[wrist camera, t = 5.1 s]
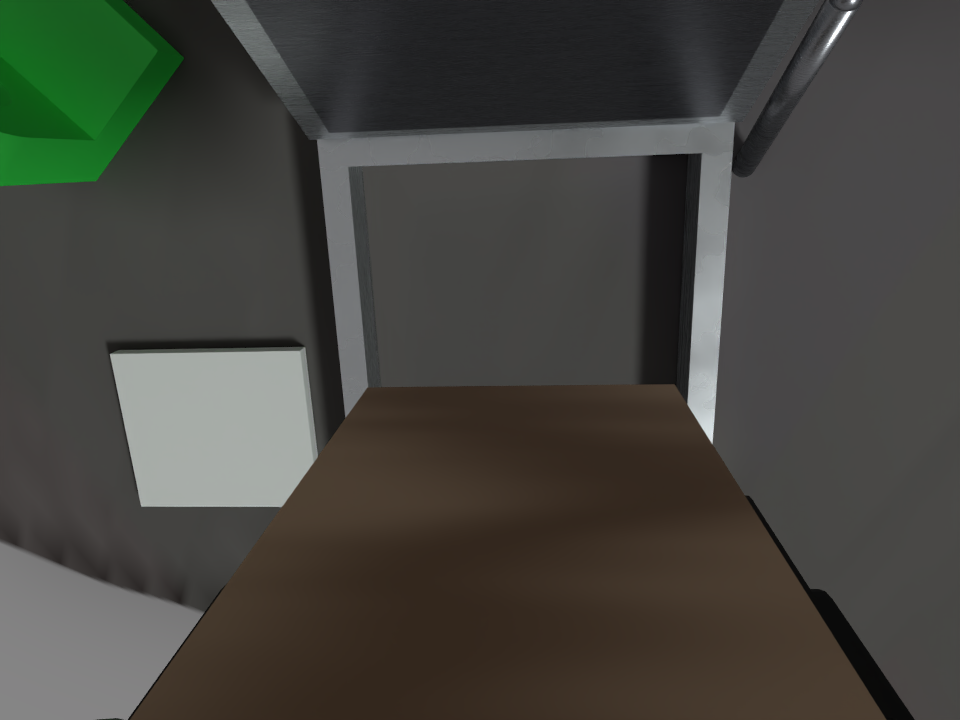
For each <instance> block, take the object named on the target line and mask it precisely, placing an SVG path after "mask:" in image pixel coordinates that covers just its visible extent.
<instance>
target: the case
mask: <svg viewBox="0 0 960 720" xmlns="http://www.w3.org/2000/svg"><path fill="white" fill-rule="evenodd" d="M211 1H212V3H213V4H214V6H215V7H216V8H217V10H218V11H219V13H220V14H221V15H222V17H223V18H224V20H225V21H226V23H227V24H228V25H229V27H230V28H231V30H232V31H233V32H234V34H235V35H236V37H237V38H238V40H239V41H240V42H241V44H242V45H243V47H244V48H245V49H246V51H247V52H248V54H249V55H250V56H251V58H252V59H253V61H254V62H255V64H256V65H257V66H258V68H259V69H260V71H261V72H262V73H263V75H264V76H265V78H266V79H267V80H268V82H269V83H270V85H271V86H272V88H273V89H274V90H275V92H276V93H277V95H278V96H279V97H280V99H281V100H282V102H283V103H284V105H285V106H286V107H287V109H288V110H289V112H290V113H291V114H292V116H293V117H294V119H295V120H296V121H297V123H298V124H299V126H300V127H301V129H302V130H303V131H304V133H305V134H306V136H307V137H308V138H309V140H317V144H318V154H319V164H320V174H321V183H322V193H323V203H324V213H325V223H326V232H327V242H328V252H329V262H330V271H331V281H332V291H333V301H334V310H335V320H336V330H337V340H338V350H339V359H340V369H341V379H342V389H343V398H344V408H345V418H346V417H347V415H348V414H349V413H350V411H351V410H352V408H353V407H354V406H355V404H356V403H357V401H358V400H359V399H360V397H361V396H362V394H363V393H364V392H365V390H366V389H367V387H381V385H380V374H379V362H378V350H377V338H376V326H375V315H374V303H373V291H372V279H371V267H370V256H369V244H368V232H367V220H366V208H365V197H364V185H363V173H362V166H379V165H405V164H431V163H457V162H483V161H509V160H535V159H561V158H587V157H613V156H639V155H665V154H688V164H687V184H686V203H685V223H684V242H683V262H682V281H681V301H680V320H679V340H678V359H677V379H676V387H677V389H678V391H679V392H680V394H681V395H682V397H683V399H684V400H685V402H686V403H687V405H688V406H689V408H690V410H691V411H692V413H693V414H694V416H695V418H696V419H697V421H698V422H699V424H700V425H701V427H702V429H703V430H704V432H705V433H706V435H707V437H708V438H709V440H710V441H711V443H712V442H713V428H714V414H715V399H716V385H717V371H718V356H719V342H720V328H721V313H722V299H723V285H724V270H725V256H726V242H727V227H728V213H729V199H730V184H731V170H732V169H733V172H734V173H735V175H737V176H739V177H747V176H749V175H751V174H752V173H753V172H754V171H755V169H756V167H757V166H758V164H759V163H760V161H761V160H762V158H763V156H764V155H765V153H766V152H767V150H768V149H769V147H770V146H771V144H772V142H773V141H774V139H775V138H776V136H777V135H778V133H779V132H780V130H781V128H782V127H783V125H784V124H785V122H786V121H787V119H788V118H789V116H790V114H791V113H792V111H793V110H794V108H795V107H796V105H797V104H798V102H799V100H800V99H801V97H802V96H803V94H804V93H805V91H806V89H807V88H808V86H809V85H810V83H811V82H812V80H813V79H814V77H815V75H816V74H817V72H818V71H819V69H820V68H821V66H822V65H823V63H824V61H825V60H826V58H827V57H828V55H829V54H830V52H831V51H832V49H833V47H834V46H835V44H836V43H837V41H838V40H839V38H840V36H841V35H842V33H843V32H844V30H845V29H846V27H847V26H848V24H849V22H850V21H851V19H852V18H853V16H854V15H855V13H856V12H857V10H858V8H859V7H860V5H861V4H862V2H863V0H825V1H824V3H823V5H822V6H821V8H820V10H819V12H818V13H817V15H816V17H815V19H814V20H813V22H812V24H811V26H810V28H809V29H808V31H807V33H806V35H805V36H804V38H803V40H802V42H801V43H800V45H799V47H798V49H797V50H796V52H795V54H794V56H793V58H792V59H791V61H790V63H789V65H788V66H787V68H786V70H785V72H784V73H783V75H782V77H781V79H780V80H779V82H778V84H777V86H776V88H775V89H774V91H773V93H772V95H771V96H770V98H769V100H768V102H767V103H766V105H765V107H764V109H763V111H762V112H761V114H760V116H759V118H758V119H757V121H756V123H755V125H754V126H753V128H752V130H751V132H750V133H749V135H748V137H747V139H746V141H745V142H744V144H743V146H742V148H741V149H740V151H739V153H738V155H737V156H736V158H735V160H734V162H733V165H732V156H733V141H734V127H735V122H743V120H744V119H745V117H746V116H747V114H748V112H749V111H750V109H751V108H752V106H753V104H754V103H755V101H756V100H757V98H758V97H759V95H760V93H761V92H762V90H763V89H764V87H765V85H766V84H767V82H768V81H769V79H770V77H771V76H772V74H773V73H774V71H775V70H776V68H777V66H778V65H779V63H780V62H781V60H782V58H783V57H784V55H785V54H786V52H787V51H788V49H789V47H790V46H791V44H792V43H793V41H794V39H795V38H796V36H797V35H798V33H799V31H800V30H801V28H802V27H803V25H804V24H805V22H806V20H807V19H808V17H809V16H810V14H811V12H812V11H813V9H814V8H815V6H816V4H817V3H818V1H819V0H211Z"/></svg>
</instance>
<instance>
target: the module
mask: <svg viewBox="0 0 960 720" xmlns="http://www.w3.org/2000/svg"><path fill="white" fill-rule="evenodd" d="M130 720H886V718H885V717H884V715H883V714H882V712H881V711H880V709H879V707H878V706H877V704H876V703H875V701H874V699H873V698H872V696H871V695H870V693H869V692H868V690H867V688H866V687H865V685H864V684H863V682H862V680H861V679H860V677H859V676H858V674H857V673H856V671H855V669H854V668H853V666H852V665H851V663H850V661H849V660H848V658H847V657H846V655H845V654H844V652H843V650H842V649H841V647H840V646H839V644H838V642H837V641H836V639H835V638H834V636H833V635H832V633H831V631H830V630H829V628H828V627H827V625H826V623H825V622H824V620H823V619H822V617H821V616H820V614H819V612H818V611H817V609H816V608H815V606H814V604H813V603H812V601H811V600H810V598H809V597H808V595H807V593H806V592H805V590H804V589H803V587H802V585H801V584H800V582H799V581H798V579H797V578H796V576H795V574H794V573H793V571H792V570H791V568H790V566H789V565H788V563H787V562H786V560H785V559H784V557H783V555H782V554H781V552H780V551H779V549H778V547H777V546H776V544H775V543H774V541H773V539H772V538H771V536H770V535H769V533H768V532H767V530H766V528H765V527H764V525H763V524H762V522H761V520H760V519H759V517H758V516H757V514H756V513H755V511H754V509H753V508H752V506H751V505H750V503H749V501H748V500H747V498H746V497H745V495H744V494H743V492H742V490H741V489H740V487H739V486H738V484H737V482H736V481H735V479H734V478H733V476H732V475H731V473H730V471H729V470H728V468H727V467H726V465H725V463H724V462H723V460H722V459H721V457H720V456H719V454H718V452H717V451H716V449H715V448H714V446H713V444H712V443H711V441H710V440H709V438H708V437H707V435H706V433H705V432H704V430H703V429H702V427H701V425H700V424H699V422H698V421H697V419H696V418H695V416H694V414H693V413H692V411H691V410H690V408H689V406H688V405H687V403H686V402H685V400H684V399H683V397H682V395H681V394H680V392H679V391H678V389H677V387H676V386H675V384H647V385H553V386H459V387H367V389H366V390H365V392H364V393H363V394H362V396H361V397H360V399H359V400H358V401H357V403H356V404H355V406H354V407H353V408H352V410H351V411H350V413H349V414H348V415H347V417H346V418H345V420H344V421H343V422H342V424H341V425H340V426H339V428H338V429H337V431H336V432H335V433H334V435H333V436H332V438H331V439H330V440H329V442H328V443H327V445H326V446H325V447H324V449H323V450H322V452H321V453H320V454H319V456H318V457H317V459H316V460H315V461H314V463H313V464H312V466H311V467H310V468H309V470H308V471H307V473H306V474H305V475H304V477H303V478H302V480H301V481H300V482H299V484H298V485H297V487H296V488H295V489H294V491H293V492H292V494H291V495H290V496H289V498H288V499H287V501H286V502H285V503H284V505H283V506H282V508H281V509H280V510H279V512H278V513H277V515H276V516H275V517H274V519H273V520H272V522H271V523H270V524H269V526H268V527H267V529H266V530H265V531H264V533H263V534H262V536H261V537H260V538H259V540H258V541H257V543H256V544H255V545H254V547H253V548H252V550H251V551H250V552H249V554H248V555H247V557H246V558H245V559H244V561H243V562H242V564H241V565H240V566H239V568H238V569H237V571H236V572H235V573H234V575H233V576H232V578H231V579H230V580H229V582H228V583H227V585H226V586H225V587H224V589H223V590H222V592H221V593H220V594H219V596H218V597H217V599H216V600H215V601H214V603H213V604H212V606H211V607H210V608H209V610H208V611H207V613H206V614H205V615H204V617H203V618H202V620H201V621H200V622H199V624H198V625H197V627H196V628H195V629H194V631H193V632H192V633H191V635H190V636H189V638H188V639H187V640H186V642H185V643H184V645H183V646H182V647H181V649H180V650H179V652H178V653H177V654H176V656H175V657H174V659H173V660H172V661H171V663H170V664H169V666H168V667H167V668H166V670H165V671H164V673H163V674H162V675H161V677H160V678H159V680H158V681H157V682H156V684H155V685H154V687H153V688H152V689H151V691H150V692H149V694H148V695H147V696H146V698H145V699H144V701H143V702H142V703H141V705H140V706H139V708H138V709H137V710H136V712H135V713H134V715H133V716H132V717H131V719H130Z"/></svg>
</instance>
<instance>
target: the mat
mask: <svg viewBox="0 0 960 720" xmlns="http://www.w3.org/2000/svg"><path fill="white" fill-rule="evenodd" d="M110 357H111V362H112V367H113V372H114V376H115V381H116V386H117V391H118V396H119V401H120V405H121V410H122V415H123V420H124V425H125V430H126V435H127V439H128V444H129V449H130V454H131V459H132V464H133V468H134V473H135V478H136V483H137V488H138V493H139V498H140V502H141V506H167V507H282V506H283V505H284V503H285V502H286V501H287V499H288V498H289V496H290V495H291V494H292V492H293V491H294V489H295V488H296V487H297V485H298V484H299V482H300V481H301V480H302V478H303V477H304V475H305V474H306V473H307V471H308V470H309V468H310V467H311V466H312V464H313V463H314V461H315V460H316V459H317V457H318V453H317V445H316V436H315V428H314V419H313V411H312V402H311V394H310V385H309V377H308V368H307V360H306V351H305V347H266V348H208V349H150V350H118V351H115V352H113V353H111V354H110Z"/></svg>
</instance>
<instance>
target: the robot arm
mask: <svg viewBox="0 0 960 720" xmlns="http://www.w3.org/2000/svg"><path fill="white" fill-rule="evenodd" d="M745 497H746V498H747V500H748V501H749V503H750V505H751V506H752V508H753V509H754V511H755V513H756V514H757V516H758V517H759V519H760V520H761V522H762V524H763V525H764V527H765V528H766V530H767V532H768V533H769V535H770V536H771V538H772V539H773V541H774V543H775V544H776V546H777V547H778V549H779V551H780V552H781V554H782V555H783V557H784V559H785V560H786V562H787V563H788V565H789V566H790V568H791V570H792V571H793V573H794V574H795V576H796V578H797V579H798V581H799V582H800V584H801V585H802V587H803V589H804V590H805V592H806V593H807V595H808V597H809V598H810V600H811V601H812V603H813V604H814V606H815V608H816V609H817V611H818V612H819V614H820V616H821V617H822V619H823V620H824V622H825V623H826V625H827V627H828V628H829V630H830V631H831V633H832V635H833V636H834V638H835V639H836V641H837V642H838V644H839V646H840V647H841V649H842V650H843V652H844V654H845V655H846V657H847V658H848V660H849V661H850V663H851V665H852V666H853V668H854V669H855V671H856V673H857V674H858V676H859V677H860V679H861V680H862V682H863V684H864V685H865V687H866V688H867V690H868V692H869V693H870V695H871V696H872V698H873V699H874V701H875V703H876V704H877V706H878V707H879V709H880V711H881V712H882V714H883V715H884V717H885V718H886V720H914V718H913V717H912V715H911V714H910V712H909V711H908V709H907V708H906V706H905V705H904V703H903V702H902V701H901V699H900V698H899V696H898V695H897V693H896V692H895V690H894V689H893V687H892V686H891V684H890V683H889V681H888V680H887V679H886V677H885V676H884V674H883V673H882V671H881V670H880V668H879V667H878V665H877V664H876V662H875V661H874V659H873V658H872V657H871V655H870V654H869V652H868V651H867V649H866V648H865V646H864V645H863V643H862V642H861V640H860V639H859V637H858V636H857V635H856V633H855V632H854V630H853V629H852V627H851V626H850V624H849V623H848V621H847V620H846V618H845V617H844V615H843V614H842V613H841V611H840V610H839V608H838V607H837V605H836V604H835V602H834V601H833V599H832V598H831V597H830V596H829V595H828V594H827V593H826V592H825V591H822V590H820V589H810V588H809V587H808V585H807V584H806V582H805V580H804V579H803V577H802V576H801V574H800V573H799V571H798V570H797V568H796V567H795V565H794V563H793V562H792V560H791V559H790V557H789V556H788V554H787V553H786V551H785V549H784V548H783V546H782V545H781V543H780V542H779V540H778V539H777V537H776V536H775V534H774V532H773V531H772V529H771V528H770V526H769V525H768V523H767V522H766V520H765V518H764V517H763V515H762V514H761V512H760V511H759V509H758V508H757V506H756V505H755V503H754V501H753V500H752V499H751V498H750V497H749V496H745ZM226 585H227V584H226ZM226 585H225V586H226ZM225 586H224V587H225ZM224 587H223V588H222V589H221V590H220V592H219V593H218V595H217V596H216V597H215V599H214V600H213V602H212V603H211V604H210V606H209V607H208V609H207V610H206V611H205V613H204V614H203V616H202V617H201V618H200V620H199V621H198V623H197V624H196V626H195V627H194V628H193V630H192V631H191V632H190V634H189V635H188V637H187V638H186V639H185V641H184V642H183V644H182V645H181V646H180V648H179V649H178V650H177V652H176V653H175V655H174V656H173V657H172V659H171V660H170V662H169V663H168V664H167V666H166V667H165V668H164V670H163V671H162V673H161V674H160V675H159V677H158V678H157V680H156V681H155V682H154V684H153V685H152V687H151V688H150V689H149V691H148V692H147V694H146V695H145V697H144V698H143V699H142V701H141V702H140V703H139V705H138V706H137V707H136V709H135V710H134V712H133V713H132V714H131V716H130V717H129V719H128V720H130V719H131V717H132V716H133V715H134V713H135V712H136V710H137V709H138V708H139V706H140V705H141V703H142V702H143V701H144V699H145V698H146V696H147V695H148V694H149V692H150V691H151V689H152V688H153V687H154V685H155V684H156V682H157V681H158V680H159V678H160V677H161V675H162V674H163V673H164V671H165V670H166V668H167V667H168V666H169V664H170V663H171V661H172V660H173V659H174V657H175V656H176V654H177V653H178V652H179V650H180V649H181V647H182V646H183V645H184V643H185V642H186V640H187V639H188V638H189V636H190V635H191V633H192V632H193V631H194V629H195V628H196V627H197V625H198V624H199V622H200V621H201V620H202V618H203V617H204V615H205V614H206V613H207V611H208V610H209V608H210V607H211V606H212V604H213V603H214V601H215V600H216V599H217V597H218V596H219V594H220V593H221V592H222V590H223V589H224ZM99 720H122V719H118V718H114V719H99Z"/></svg>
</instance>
